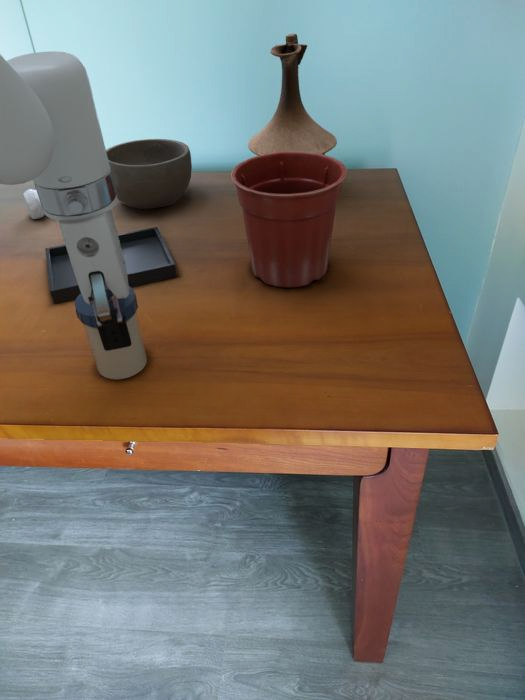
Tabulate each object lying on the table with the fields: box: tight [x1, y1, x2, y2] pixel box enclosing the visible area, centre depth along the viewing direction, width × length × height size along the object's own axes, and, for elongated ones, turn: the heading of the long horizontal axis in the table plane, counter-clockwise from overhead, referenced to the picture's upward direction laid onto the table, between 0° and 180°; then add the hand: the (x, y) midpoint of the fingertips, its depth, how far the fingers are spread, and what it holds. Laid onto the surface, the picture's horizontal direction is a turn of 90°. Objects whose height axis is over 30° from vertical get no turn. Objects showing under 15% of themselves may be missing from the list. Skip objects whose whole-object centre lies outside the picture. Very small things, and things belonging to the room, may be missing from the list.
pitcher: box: [247, 33, 338, 156], centre depth 99 cm, size 18×17×28 cm
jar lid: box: [74, 286, 139, 328], centre depth 63 cm, size 7×7×2 cm
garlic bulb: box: [22, 188, 46, 220], centre depth 102 cm, size 6×6×5 cm
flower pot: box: [230, 151, 347, 289], centre depth 80 cm, size 16×16×16 cm
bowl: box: [106, 138, 193, 210], centre depth 105 cm, size 17×18×10 cm
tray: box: [44, 226, 178, 305], centre depth 87 cm, size 19×14×2 cm
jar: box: [83, 311, 148, 380], centre depth 66 cm, size 6×6×10 cm
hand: (116, 327), depth 65 cm, fingers closed on jar lid, 7 cm apart
